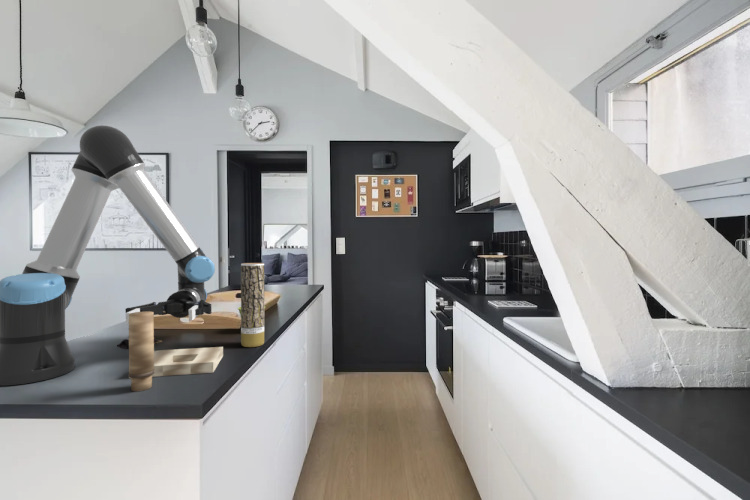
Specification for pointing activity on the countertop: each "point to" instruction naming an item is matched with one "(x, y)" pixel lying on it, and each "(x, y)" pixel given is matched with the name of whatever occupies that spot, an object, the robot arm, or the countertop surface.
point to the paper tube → (252, 304)
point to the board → (186, 361)
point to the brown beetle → (125, 343)
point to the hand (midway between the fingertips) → (159, 316)
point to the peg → (141, 350)
